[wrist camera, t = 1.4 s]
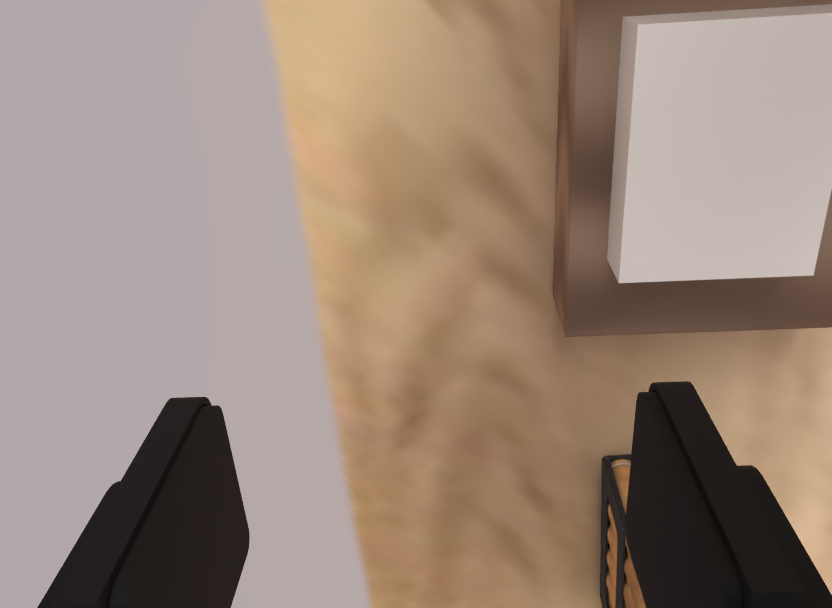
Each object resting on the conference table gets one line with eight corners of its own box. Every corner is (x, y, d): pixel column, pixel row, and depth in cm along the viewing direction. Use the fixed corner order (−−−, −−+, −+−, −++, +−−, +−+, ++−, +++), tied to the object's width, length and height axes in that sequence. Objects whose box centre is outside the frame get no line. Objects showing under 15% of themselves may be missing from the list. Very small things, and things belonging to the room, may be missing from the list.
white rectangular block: (622, 16, 25) (638, 24, 23) (835, 4, 24) (869, 10, 22) (606, 258, 29) (618, 282, 27) (788, 251, 28) (813, 275, 26)
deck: (564, -95, 27) (582, -98, 23) (902, -118, 26) (974, -125, 22) (553, 293, 34) (565, 336, 31) (816, 283, 33) (860, 326, 30)
